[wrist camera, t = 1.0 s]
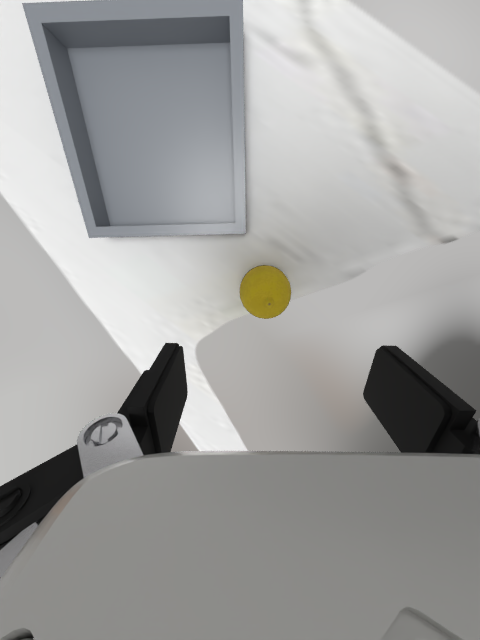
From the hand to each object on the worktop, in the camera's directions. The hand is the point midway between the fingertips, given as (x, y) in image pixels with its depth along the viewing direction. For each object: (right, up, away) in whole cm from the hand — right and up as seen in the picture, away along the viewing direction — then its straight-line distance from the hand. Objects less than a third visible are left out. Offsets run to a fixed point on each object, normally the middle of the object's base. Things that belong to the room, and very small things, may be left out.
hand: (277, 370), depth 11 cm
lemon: (+1, +7, +18) cm, 19 cm away
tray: (-9, +20, +12) cm, 25 cm away
